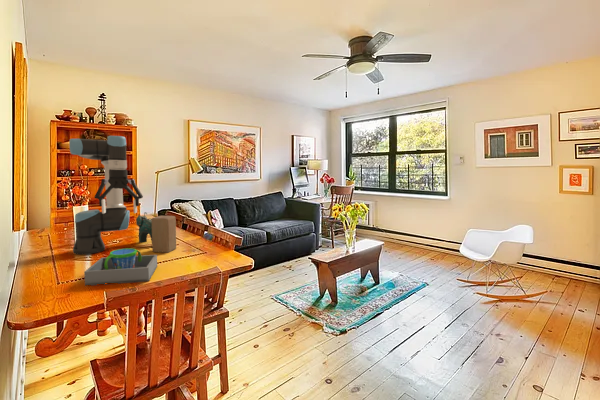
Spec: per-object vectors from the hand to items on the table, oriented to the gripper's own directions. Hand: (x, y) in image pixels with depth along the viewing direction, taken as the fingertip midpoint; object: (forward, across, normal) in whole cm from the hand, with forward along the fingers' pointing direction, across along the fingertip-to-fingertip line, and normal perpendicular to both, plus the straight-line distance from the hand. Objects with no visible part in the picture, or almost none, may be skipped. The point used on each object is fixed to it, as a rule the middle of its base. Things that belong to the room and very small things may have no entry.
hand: (119, 213), depth 149 cm
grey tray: (+26, +5, -15) cm, 31 cm away
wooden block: (+27, +16, +25) cm, 40 cm away
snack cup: (+25, +5, -15) cm, 30 cm away
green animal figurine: (+28, +4, +44) cm, 52 cm away
